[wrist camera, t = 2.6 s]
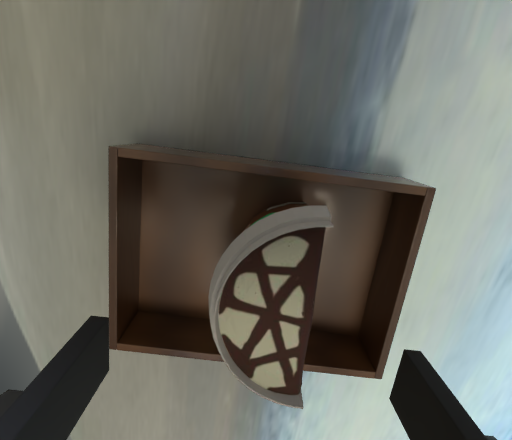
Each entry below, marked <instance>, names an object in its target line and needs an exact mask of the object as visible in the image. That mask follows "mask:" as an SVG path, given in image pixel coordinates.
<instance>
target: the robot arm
mask: <svg viewBox="0 0 512 440" xmlns="http://www.w3.org/2000/svg"><path fill="white" fill-rule="evenodd" d="M108 371H109V318H107V317H98V316H90V317H89V319H88V320H87V321H86V322H85V323H84V324H83V325H82V326H81V328H80V329H79V330H78V331H77V332H76V333H75V334H74V335H73V336H72V338H71V339H70V340H69V341H68V342H67V343H66V344H65V345H64V347H63V348H62V349H61V350H60V351H59V352H58V353H57V354H56V356H55V357H54V358H53V359H52V360H51V361H50V362H49V363H48V364H47V366H46V367H45V368H44V369H43V370H42V371H41V372H40V374H39V375H38V376H37V377H36V378H35V379H34V380H33V381H32V382H31V384H30V385H29V386H28V387H27V388H26V389H25V390H24V391H17V390H7V391H6V392H4V393H3V394H1V395H0V440H66V439H67V438H68V436H69V435H70V433H71V431H72V430H73V428H74V426H75V425H76V423H77V421H78V420H79V418H80V417H81V415H82V413H83V412H84V410H85V408H86V407H87V405H88V404H89V402H90V400H91V399H92V397H93V395H94V394H95V392H96V391H97V389H98V387H99V386H100V384H101V382H102V381H103V379H104V377H105V376H106V374H107V373H108ZM389 399H390V401H391V403H392V405H393V407H394V409H395V411H396V413H397V415H398V417H399V419H400V421H401V423H402V425H403V427H404V429H405V431H406V433H407V435H408V437H409V439H410V440H497V439H496V438H495V437H493V436H485V435H484V434H483V433H482V432H481V431H480V429H479V428H478V427H477V425H476V424H475V423H474V421H473V420H472V419H471V417H470V416H469V415H468V413H467V412H466V411H465V409H464V408H463V407H462V405H461V404H460V403H459V401H458V400H457V399H456V397H455V396H454V395H453V393H452V392H451V391H450V389H449V388H448V387H447V385H446V384H445V383H444V381H443V380H442V379H441V377H440V376H439V375H438V373H437V372H436V371H435V370H434V368H433V367H432V366H431V364H430V363H429V362H428V360H427V359H426V358H425V356H424V355H423V354H422V352H421V351H414V350H404V352H403V355H402V358H401V362H400V365H399V368H398V372H397V375H396V378H395V381H394V385H393V388H392V391H391V395H390V398H389Z"/></svg>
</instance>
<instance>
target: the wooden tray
mask: <svg viewBox="0 0 512 440" xmlns="http://www.w3.org/2000/svg"><path fill="white" fill-rule="evenodd" d="M435 191H436V188H434V187H431V186H427V185H424V184H421V183H418V182H415V181H412V180H408V179H405V178H401V177H393V176H386V175H378V174H370V173H362V172H355V171H347V170H339V169H331V168H324V167H316V166H308V165H300V164H293V163H285V162H277V161H269V160H262V159H254V158H246V157H238V156H231V155H223V154H215V153H207V152H200V151H192V150H184V149H176V148H169V147H161V146H153V145H145V144H138V143H136V144H127V145H117V146H109V349H115V350H116V349H117V350H123V351H132V352H141V353H150V354H159V355H168V356H177V357H186V358H195V359H204V360H213V361H222V362H224V360H223V359H222V356H221V354H220V353H219V351H218V348H217V346H216V343H215V341H214V339H213V334H212V329H211V324H210V316H209V298H208V297H209V290H210V283H211V280H212V277H213V273H214V270H215V268H216V266H217V264H218V262H219V260H220V258H221V256H222V255H223V253H224V252H225V251H226V249H227V248H228V247H229V245H230V244H231V243H232V242H233V241H234V240H235V239H236V238H237V237H238V236H239V235H240V234H241V233H242V231H243V229H244V228H245V227H246V226H247V224H248V223H249V222H250V221H251V219H252V218H253V217H254V216H255V215H257V214H258V213H260V212H261V211H263V210H264V209H266V208H268V207H269V206H272V205H276V204H279V203H283V202H287V201H303V202H305V203H306V204H307V205H309V206H327V208H328V210H329V213H330V215H331V223H332V224H333V225H334V226H333V227H326V230H325V236H324V243H323V249H322V256H321V262H320V268H319V275H318V282H317V289H316V296H315V304H314V312H313V320H312V325H311V330H310V335H309V339H308V344H307V350H306V355H305V361H304V367H303V371H312V372H321V373H330V374H339V375H348V376H357V377H366V378H376V379H382V375H383V372H384V368H385V365H386V362H387V358H388V355H389V351H390V348H391V344H392V341H393V337H394V334H395V330H396V327H397V323H398V320H399V316H400V313H401V309H402V306H403V302H404V299H405V295H406V292H407V288H408V285H409V281H410V278H411V274H412V271H413V267H414V264H415V260H416V257H417V254H418V250H419V247H420V243H421V240H422V236H423V233H424V229H425V226H426V222H427V219H428V215H429V212H430V208H431V205H432V201H433V198H434V194H435Z"/></svg>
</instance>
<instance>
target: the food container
mask: <svg viewBox="0 0 512 440" xmlns="http://www.w3.org/2000/svg"><path fill="white" fill-rule="evenodd" d="M333 226H334V225H333V224H332V223H331V215H330V213H329V210H328V208H327V206H309V205H307V204H306V203H305V202H303V201H287V202H283V203H279V204H276V205H272V206H269V207H268V208H266V209H264V210H263V211H261V212H260V213H258V214H257V215H255V216H254V217H253V218H252V219H251V221H250V222H249V223H248V224H247V226H246V227H245V228H244V229H243V231H242V233H241V234H240V235H239V236H238V237H237V238H236V239H235V240H234V241H233V242H232V243H231V244H230V245H229V247H228V248H227V249H226V251H225V252H224V253H223V255H222V256H221V258H220V260H219V262H218V264H217V266H216V268H215V270H214V273H213V277H212V280H211V283H210V290H209V297H208V298H209V316H210V324H211V329H212V334H213V339H214V341H215V343H216V346H217V348H218V351H219V353H220V354H221V356H222V359H223V360H224V362H225V363H226V365H227V367H228V368H229V370H230V371H231V372H232V373H233V375H234V376H235V377H236V378H237V379H238V380H239V381H240V382H241V383H242V384H244V385H245V386H246V387H247V388H248V389H250V390H251V391H253V392H254V393H256V394H258V395H259V396H261V397H263V398H265V399H267V400H270V401H272V402H274V403H277V404H281V405H285V406H288V407H294V408H301V409H303V401H302V393H301V385H302V373H303V367H304V361H305V355H306V350H307V344H308V339H309V335H310V330H311V325H312V320H313V312H314V304H315V296H316V289H317V282H318V275H319V268H320V262H321V256H322V249H323V243H324V236H325V230H326V227H333Z"/></svg>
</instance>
